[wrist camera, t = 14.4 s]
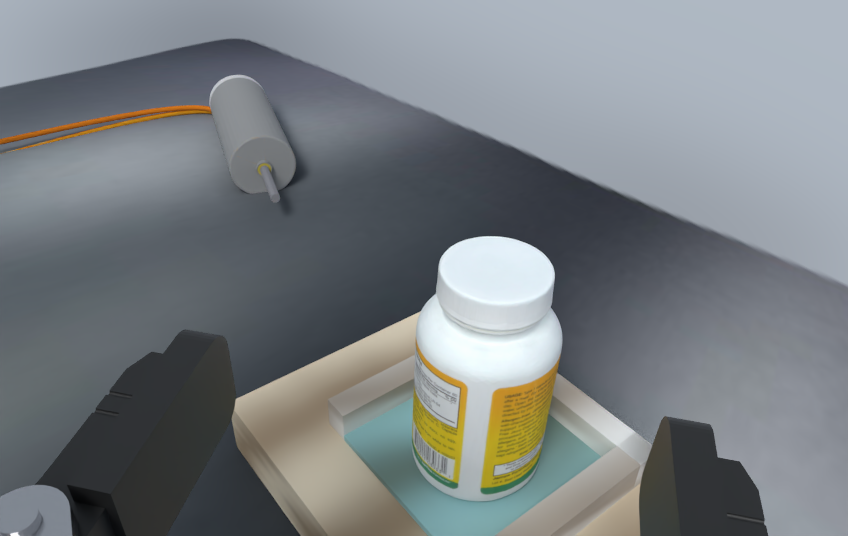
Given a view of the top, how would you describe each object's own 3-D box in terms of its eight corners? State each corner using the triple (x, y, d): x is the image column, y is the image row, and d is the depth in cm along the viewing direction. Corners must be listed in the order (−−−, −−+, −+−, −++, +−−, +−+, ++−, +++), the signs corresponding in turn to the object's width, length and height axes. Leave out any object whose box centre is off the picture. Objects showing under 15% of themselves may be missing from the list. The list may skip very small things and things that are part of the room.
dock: (236, 446, 34) (223, 378, 31) (434, 345, 40) (437, 281, 37) (492, 804, 22) (505, 744, 20) (712, 582, 28) (744, 515, 26)
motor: (265, 103, 68) (250, 54, 65) (317, 217, 51) (301, 157, 48) (13, 172, 63) (-15, 122, 60) (-21, 321, 46) (-63, 262, 43)
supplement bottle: (399, 494, 28) (401, 303, 22) (424, 397, 32) (431, 217, 26) (536, 518, 27) (573, 326, 21) (543, 415, 31) (575, 234, 26)
